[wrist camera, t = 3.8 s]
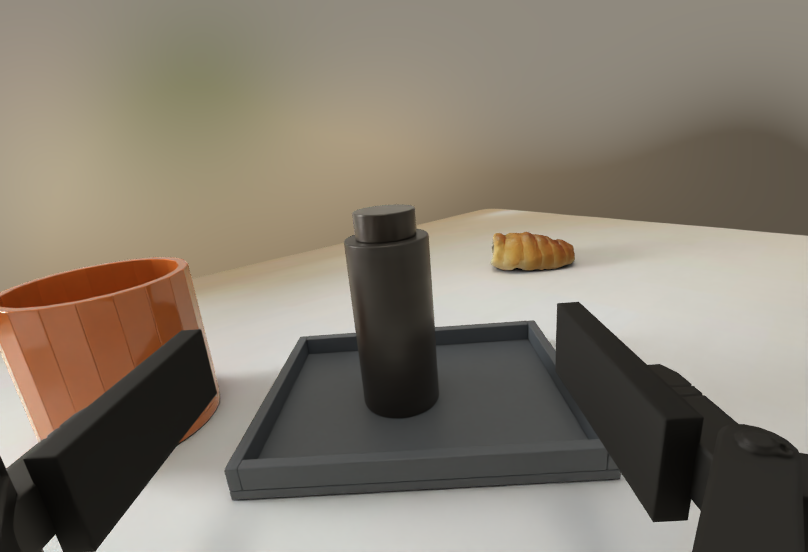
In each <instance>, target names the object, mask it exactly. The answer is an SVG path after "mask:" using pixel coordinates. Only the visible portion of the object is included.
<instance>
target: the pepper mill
mask: <svg viewBox="0 0 808 552" xmlns="http://www.w3.org/2000/svg"><path fill="white" fill-rule="evenodd" d="M352 216H353V224H354V232H355V235H352V236H350V237H348V238H347V239H345V241H344V246H345V254H346V261H347V269H348V277H349V284H350V292H351V300H352V307H353V315H354V323H355V330H356V338H357V346H358V353H359V361H360V369H361V376H362V384H363V391H364V399H365V403H366V405H367V407H368V408H369V409H370V410H371V411H372V412H374V413H375V414H377V415H380V416H383V417H388V418H407V417H412V416H416V415H419V414H421V413H423V412H425V411H427V410H428V409H430V408H431V407H432V406H433V405H434V404H435V403H436V401H437V399H438V397H439V384H438V369H437V354H436V339H435V325H434V310H433V295H432V280H431V265H430V251H429V236H428V233H427V232H426V231H424V230H421V229H416V217H415V208H414V206H411V205H382V206H375V207H368V208H363V209H359V210H356V211H354V212H353V214H352Z"/></svg>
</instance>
